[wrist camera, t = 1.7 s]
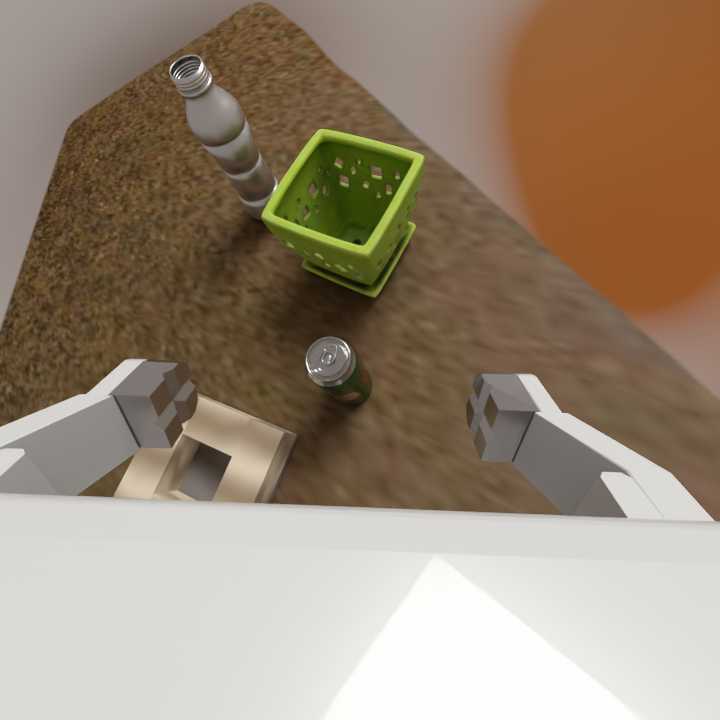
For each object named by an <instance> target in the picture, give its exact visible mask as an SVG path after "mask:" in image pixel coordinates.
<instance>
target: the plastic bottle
mask: <svg viewBox="0 0 720 720" xmlns="http://www.w3.org/2000/svg"><path fill="white" fill-rule="evenodd" d="M169 75H170V77H171V79H172V80H173V82H174V83H175V85H176V87H177V90H178V91H179V93H180V95H181V96H182V97H183V98H186V115H187V122H188V125H189V127H190V130H191V132H192V134H193V135H194V136H195V137H196V139H197V140H198V141H199V142H200V143H201V144H202V145H203V147H204V148H205V149H206V150H207V151H208V152H209V153H210V154H211V155H212V157H213V158H214V159H215V160H216V161H217V163H218V164H219V165H220V167H221V168H222V169H223V170H224V172H225V173H226V175H227V176H228V177H229V179H230V181H231V182H232V184H233V186H234V188H235V189H236V191H237V193H238V196H239V198H240V200H241V202H242V204H243V206H244V208H245V210H246V211H247V212H248V213H249V214H250V215H251V216H252V217H254V218H255V219H258V220H261V221H263V220H262V218H261V215H262V213H263V211H264V209H265V207H266V205H267V203H268V201H269V200H270V198H271V196H272V195H273V193H274V192H275V190H276V188H277V187H278V185H279V184H280V183H279V181H278V180H277V179H276V177H275V176H274V175H273V174H272V173H271V171H270V170H269V168H268V166H267V165H266V163H265V162H264V160H263V159H262V156H261V154H260V152H259V151H258V148H257V146H256V144H255V142H254V139H253V137H252V134H251V132H250V129H249V126H248V123H247V121H246V118H245V115H244V113H243V111H242V108H241V106H240V105H239V103H238V102H237V101H236V100H235V99H234V97H233V96H231V95H230V94H229V93H227V92H226V91H225V90H223V89H222V88H220V87H218V86H216V85H215V84H213V77H212V76H211V74H210V72H209V71H208V70H207V68H206V66H205V65H204V63H203V61H202V59H201V58H200V57H199V56H197V55H192V54H191V55H186V56H183V57H181V58H179V59H178V60H176V61H175V62H174V63H173V64H172V65H171V67H170V70H169Z"/></svg>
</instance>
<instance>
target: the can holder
mask: <svg viewBox="0 0 720 720" xmlns="http://www.w3.org/2000/svg"><path fill="white" fill-rule="evenodd" d="M197 394H198V403H197V407H196V411H195V413H194V414H193V416H192V418H191V419H189V420H188V421H186V422H184V423H183V424H182V426H183V432H182V433H181V435H180V436H179V438H178V439H177V441H176V443H175V444H174V446H173V447H172V448H140V450H139V451H137V452H136V454H135V456H134V458H133V460H132V462H131V464H130V466H129V468H128V469H127V471H126V473H125V475H124V477H123V479H122V481H121V483H120V485H119V487H118V489H117V491H116V493H115V494H114V496H113V497H117V498H142V499H167V500H192V501H217V502H242V503H266V504H271V503H272V501H273V498H274V496H275V493H276V491H277V489H278V486H279V484H280V481H281V479H282V477H283V474H284V472H285V469H286V467H287V464H288V462H289V460H290V457H291V455H292V452H293V450H294V448H295V445H296V443H297V440H298V438H299V436H300V435H298V434H295V433H293V432H291V431H288V430H286V429H283V428H281V427H279V426H276V425H274V424H271V423H269V422H267V421H264V420H262V419H259V418H257V417H255V416H252V415H250V414H247V413H245V412H243V411H240V410H238V409H235V408H233V407H231V406H228V405H226V404H223V403H221V402H219V401H216V400H214V399H211V398H209V397H207V396H204V395H202V394H199V393H197Z"/></svg>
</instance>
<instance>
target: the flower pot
mask: <svg viewBox="0 0 720 720" xmlns="http://www.w3.org/2000/svg"><path fill="white" fill-rule="evenodd" d="M336 157H338V158H340V159H341V160H343V161H344V163H343V166H340V165H338V164H337V163H335V159H336ZM358 159H360V160H361V163H360V162H359V161H358ZM424 161H425V159H424V156H423V155H421V154H418V153H416V152H413V151H409V150H406V149H403V148H400V147H396V146H393V145H389V144H385V143H382V142H378V141H374V140H370V139H366V138H362V137H358V136H354V135H350V134H346V133H341V132H337V131H331V130H326V129H320V130H318V131H317V132H316V133H315V135H314V136H313V137H312V138H311V139H310V141H309V142H308V143H307V145H306V146H305V147H304V149H303V150H302V152H301V153H300V154H299V156H298V157H297V159H296V160H295V162H294V163H293V164H292V166H291V167H290V169H289V170H288V172H287V173H286V175H285V176H284V177H283V179H282V181H281V182H280V184H279V185H278V187H277V188H276V190H275V192H274V193H273V195H272V196H271V198H270V200H269V201H268V203H267V205H266V207H265V209H264V211H263V213H262V215H261V218H262V220H263V222H264V224H265V225H266V226H267V227H268V229H269V230H270V231H271V232H272V233H273V235H274V236H275V237H276V238H277V239H278V240H279V241H280V242H281V243H282V244H284V245H285V246H286V247H287V248H288V249H289V250H291V251H292V252H294V253H295V254H297V255H298V256H300V257H302V258H304V261H303V263H302V267H303V268H304V269H306V270H308V271H310V272H312V273H315V274H317V275H319V276H321V277H323V278H326V279H328V280H330V281H333V282H335V283H337V284H340V285H342V286H344V287H347V288H349V289H352V290H354V291H356V292H359V293H361V294H364V295H366V296H369V297H372V298H376V297H377V296H378V294H379V293H380V291H381V290H382V288H383V286H384V285H385V283H386V281H387V279H388V278H389V276H390V274H391V272H392V271H393V269H394V267H395V265H396V264H397V262H398V260H399V258H400V256H401V255H402V253H403V251H404V249H405V248H406V246H407V244H408V242H409V240H410V239H411V237H412V235H413V233H414V231H415V228H416V225H415V224H413V223H411V222H409V219H410V217H411V215H412V213H413V210H414V208H415V205H416V202H417V199H418V196H419V192H420V187H421V183H422V177H423V171H424ZM371 165H372V166H376V167H380V168H381V170H382V177H380V176H375V175H373V173H372V169H371ZM352 166H354V167H355V169H356V172H353V170H352V168H351V167H352ZM319 168H320V173H319ZM327 170H328V173H327ZM396 172H399V173H400V177H397V176H396ZM340 174H342V175H345V176H347V177H348V179H349V185H348V184H345V183H342V182H341V179H340ZM364 181H367V182H369V183H370V185H369V186H367V185H365V184H364ZM311 183H313V184H314V186H315V188H316V191H315V193H314V194H313V196H312V197H311V195H310V193H309V190H308V189H309V187H310V185H311ZM387 184H388V185H391V186H392V192H387ZM324 185H325V186H326V193H325V194H324V195H323V189H322V187H323V186H324ZM377 191H379V192H380V193H381V196H378V195H377ZM297 199H298V205H297V204H296V203H297ZM314 206H315V207H316V209H315V211H314ZM304 208H306V210H307V215H306V216H305V217H304V218H303V216H302V211H303V209H304ZM283 216H285V220H284V219H283ZM294 221H296V223H297V224H294V223H293V222H294ZM305 227H306V228H305Z"/></svg>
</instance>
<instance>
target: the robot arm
mask: <svg viewBox="0 0 720 720" xmlns="http://www.w3.org/2000/svg"><path fill="white" fill-rule="evenodd" d="M190 376H191V372H190V369H189V366H188V364H186V363H184V362H180V361H164V360H146V359H129V360H125V361H124V362H122V363H121V364H120V365H119V366H118V367H117V368H116V369H114V370H113V371H112V372H111V373H110V374H109V375H108V376H107V377H105V378H104V379H103V380H102V381H101V382H100V383H99V384H97V385H96V386H95V387H94V388H93V389H92V390H91V391H90V392H88V393H87V394H86V395H83V394H80V395H77V396H75V397H72V398H70V399H68V400H65V401H63V402H60V403H58V404H55V405H53V406H51V407H48V408H46V409H43V410H41V411H38V412H36V413H34V414H31V415H29V416H26V417H24V418H21V419H19V420H16V421H14V422H12V423H9V424H7V425H4V426H2V427H0V720H720V522H715V521H714V520H713V519H712V518H711V517H710V516H709V515H708V513H707V512H706V511H705V510H704V509H703V508H702V507H701V506H700V505H699V503H698V502H697V501H696V500H695V499H694V498H693V497H692V496H691V495H690V494H689V492H688V491H687V490H686V489H685V488H684V487H683V486H682V485H681V484H680V483H679V481H678V480H677V479H676V478H675V477H674V476H673V475H672V474H671V473H670V472H668V471H666V470H664V469H663V468H661V467H659V466H658V465H656V464H654V463H652V462H651V461H649V460H647V459H646V458H644V457H642V456H640V455H639V454H637V453H635V452H634V451H632V450H630V449H628V448H627V447H625V446H623V445H622V444H620V443H618V442H616V441H615V440H613V439H611V438H610V437H608V436H606V435H604V434H603V433H601V432H599V431H598V430H596V429H594V428H592V427H591V426H589V425H587V424H586V423H584V422H582V421H580V420H579V419H577V418H575V417H574V416H572V415H570V414H568V413H562V412H561V411H560V409H559V408H558V407H557V405H556V404H555V402H554V401H553V400H552V398H551V397H550V395H549V394H548V393H547V391H546V390H545V388H544V387H543V386H542V384H541V383H540V381H539V380H538V379H537V377H536V376H534V375H533V374H482V373H477V374H476V376H475V378H474V381H473V384H472V386H473V388H474V390H475V393H473V394H472V395H471V396H470V397H469V399H468V403H467V411H466V417H467V423H468V426H469V429H470V430H471V431H472V432H473V433H475V434H476V436H475V440H474V443H475V446H476V449H477V452H478V454H479V457H480V460H481V461H494V462H509V463H513V465H514V466H515V467H516V468H517V469H518V470H519V471H520V472H521V473H522V474H523V475H524V476H525V477H526V478H527V479H528V480H529V481H530V482H531V483H532V484H533V485H534V486H535V487H536V488H537V489H538V490H539V491H540V492H541V493H542V494H543V495H544V496H545V497H546V498H547V499H548V500H549V501H550V502H551V503H553V504H554V505H555V506H556V507H557V508H558V509H559V510H560V511H561V512H562V513H563V514H564V515H540V514H515V513H490V512H466V511H441V510H416V509H391V508H366V507H341V506H316V505H291V504H266V503H242V502H217V501H192V500H167V499H142V498H117V497H91V496H76V495H77V494H79V493H80V492H82V491H83V490H84V489H86V488H87V487H89V486H90V485H91V484H93V483H94V482H96V481H97V480H98V479H100V478H101V477H102V476H104V475H105V474H107V473H108V472H109V471H111V470H112V469H114V468H115V467H116V466H118V465H119V464H121V463H122V462H123V461H125V460H126V459H127V458H129V457H130V456H132V455H133V454H134V453H136V452H137V451H139V450H140V448H172V447H173V446H174V444H175V443H176V441H177V439H178V438H179V436H180V435H181V433H182V432H183V426H182V424H183V423H184V422H186V421H188V420H189V419H191V418H192V416H193V414H194V413H195V411H196V407H197V403H198V394H197V390H196V387H195V386H194V385H193V384H192V383H191V382H190V381H188V379H189V378H190Z"/></svg>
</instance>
